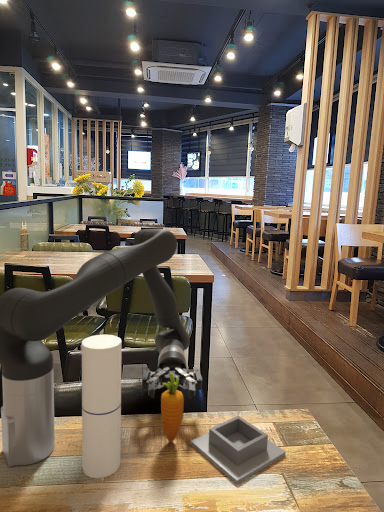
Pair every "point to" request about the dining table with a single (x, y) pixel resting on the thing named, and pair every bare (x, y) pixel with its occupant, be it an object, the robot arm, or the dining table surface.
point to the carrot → (172, 408)
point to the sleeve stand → (238, 448)
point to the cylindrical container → (101, 405)
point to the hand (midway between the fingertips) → (171, 394)
